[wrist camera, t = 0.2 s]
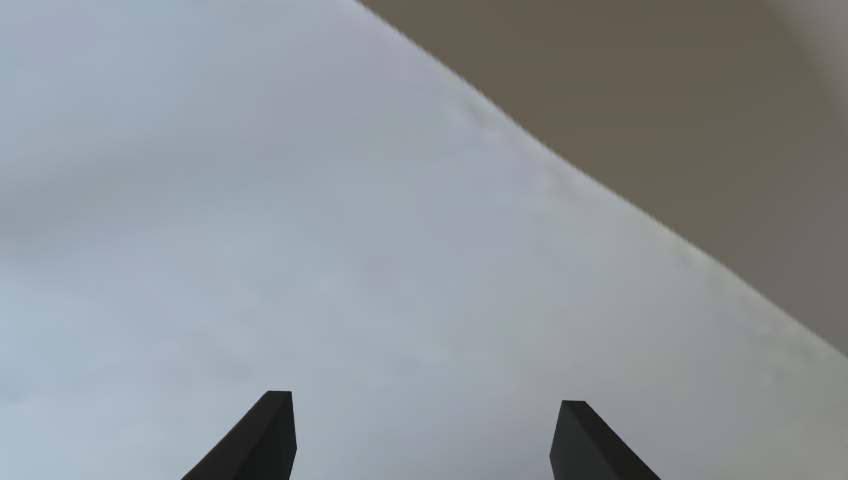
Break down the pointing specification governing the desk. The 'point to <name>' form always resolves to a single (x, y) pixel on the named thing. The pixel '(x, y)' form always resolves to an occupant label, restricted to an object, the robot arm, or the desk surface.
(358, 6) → the desk surface
